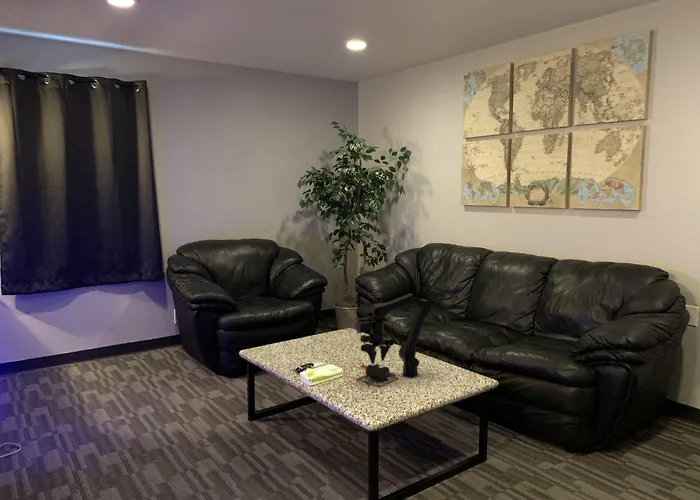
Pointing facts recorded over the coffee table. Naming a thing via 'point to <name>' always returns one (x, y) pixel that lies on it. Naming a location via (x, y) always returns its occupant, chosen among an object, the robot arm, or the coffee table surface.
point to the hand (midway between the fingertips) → (377, 362)
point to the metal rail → (386, 373)
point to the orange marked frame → (353, 377)
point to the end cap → (377, 372)
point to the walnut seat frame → (376, 384)
